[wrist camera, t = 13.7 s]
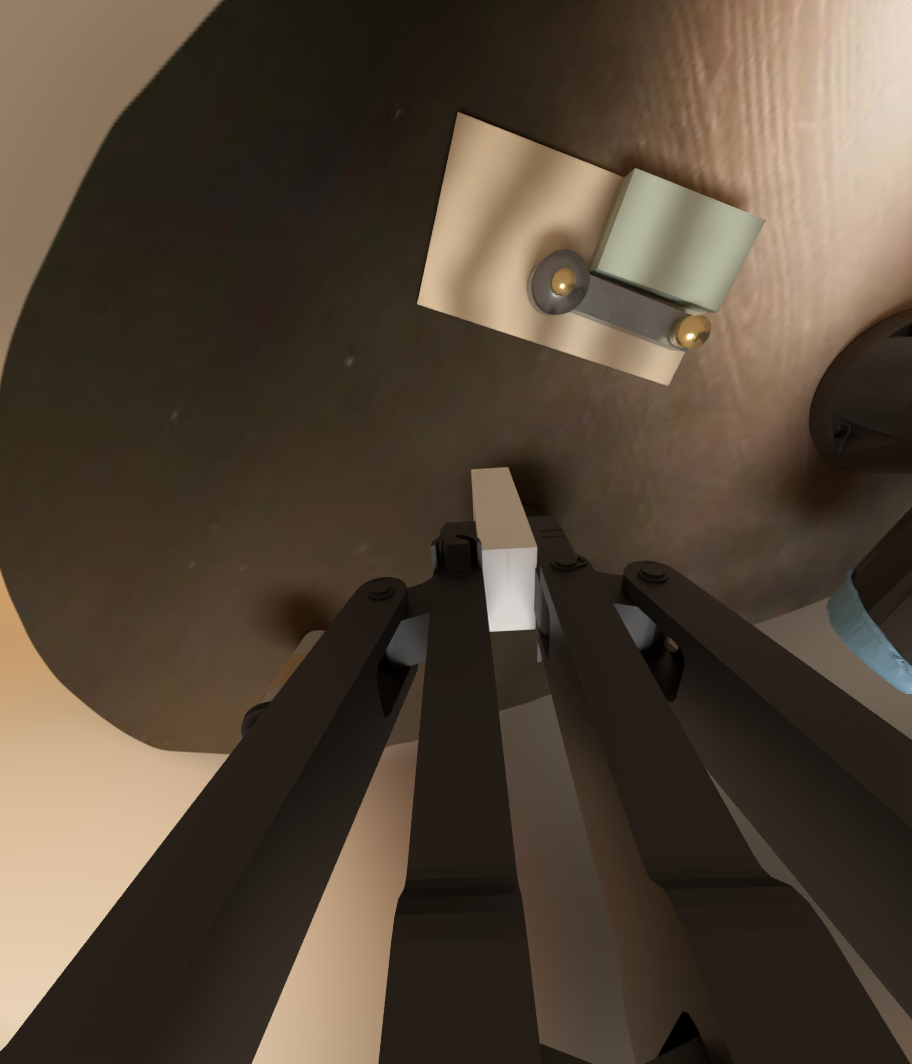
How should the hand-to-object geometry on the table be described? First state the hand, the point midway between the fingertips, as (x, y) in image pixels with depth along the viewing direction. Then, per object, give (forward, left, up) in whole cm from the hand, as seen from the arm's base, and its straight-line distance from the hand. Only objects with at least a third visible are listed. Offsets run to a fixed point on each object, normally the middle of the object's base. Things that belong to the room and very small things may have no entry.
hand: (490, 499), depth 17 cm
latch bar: (-9, -11, -25) cm, 29 cm away
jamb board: (-6, -13, -26) cm, 30 cm away
